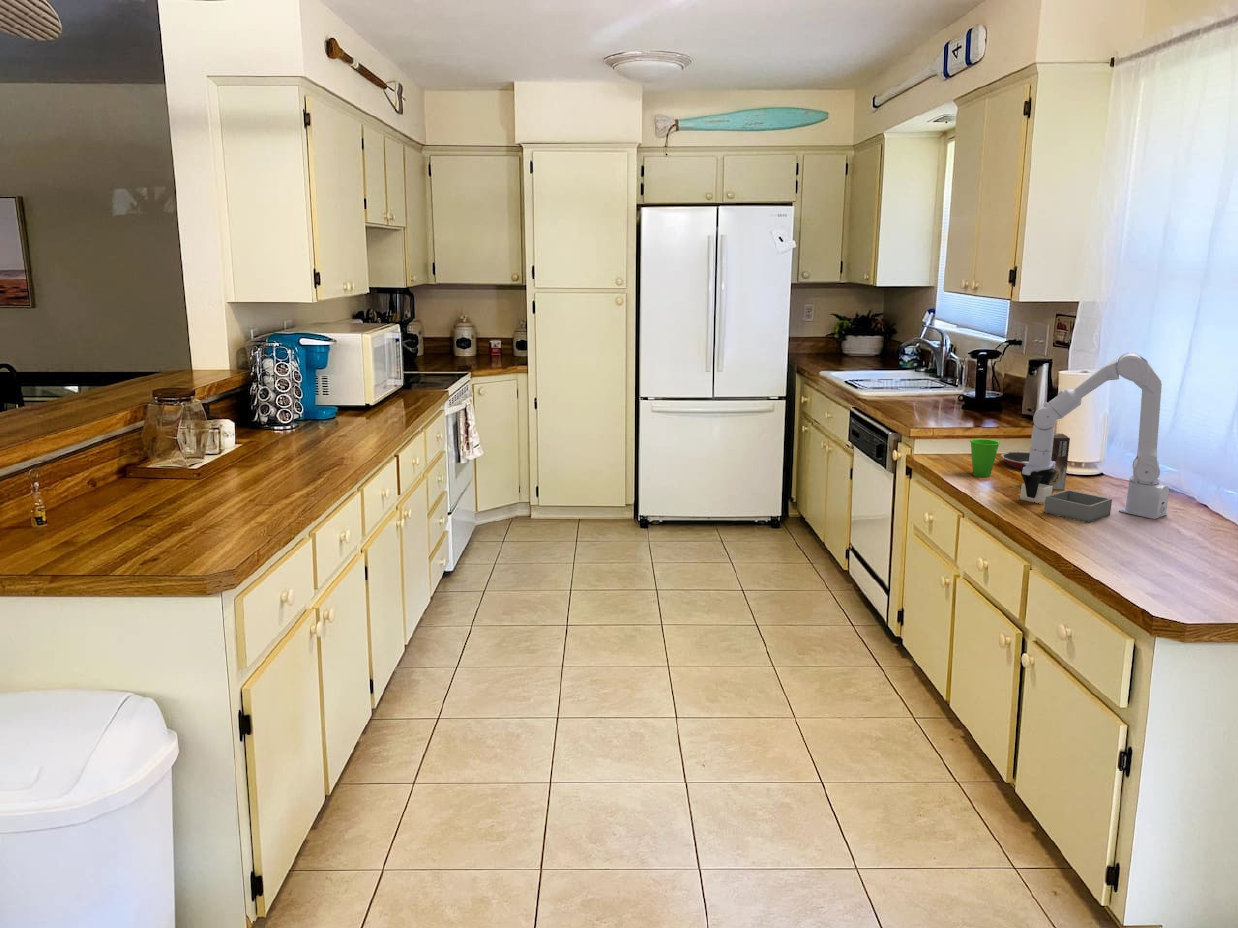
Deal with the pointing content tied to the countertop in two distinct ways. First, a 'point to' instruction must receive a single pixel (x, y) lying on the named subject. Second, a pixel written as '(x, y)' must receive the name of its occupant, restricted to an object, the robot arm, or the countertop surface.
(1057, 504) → the grey shallow square box
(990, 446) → the cup
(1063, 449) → the coffee box
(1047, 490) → the white crate
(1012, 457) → the frying pan
